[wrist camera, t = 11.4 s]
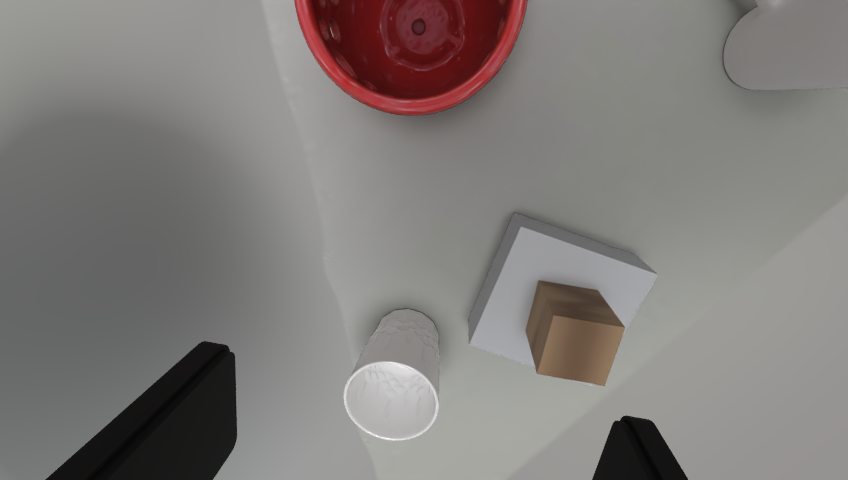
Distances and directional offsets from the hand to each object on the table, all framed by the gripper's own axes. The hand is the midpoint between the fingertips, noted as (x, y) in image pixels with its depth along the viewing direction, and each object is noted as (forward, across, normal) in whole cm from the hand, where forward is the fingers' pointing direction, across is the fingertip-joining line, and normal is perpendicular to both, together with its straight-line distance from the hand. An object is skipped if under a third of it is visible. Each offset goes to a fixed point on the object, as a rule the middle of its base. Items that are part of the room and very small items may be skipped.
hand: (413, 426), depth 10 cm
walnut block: (+24, -11, +8) cm, 27 cm away
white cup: (+29, +2, +16) cm, 33 cm away
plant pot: (+29, +4, -13) cm, 32 cm away
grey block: (+29, -11, +8) cm, 32 cm away
